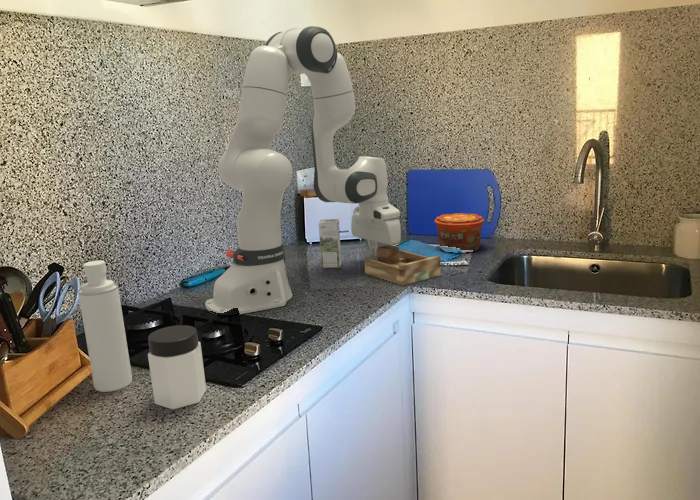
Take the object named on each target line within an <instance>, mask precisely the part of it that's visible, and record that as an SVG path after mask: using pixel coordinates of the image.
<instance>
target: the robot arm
mask: <svg viewBox="0 0 700 500" xmlns="http://www.w3.org/2000/svg"><path fill="white" fill-rule="evenodd" d="M337 49H338V48H337V47H336V42H335V40H334V38H333V36H332V34H331V33H330V32H329V31H328V30H327V29H325V28H323V27H321V26H315V25H314V26H312V25H310V26H307V27H293V28H292V27H291V28H289V29H286V30H283V31H279V32H275V33H274V34H273V35H271V36H270V37H269V38H268V40H267V41H266V42H265V44H264V45H260V46H258V47H255V48H254V49H252V51H251V53H250V55H249V57H248V61H247V64H246V66H245V71H244V76H243V81H242V87H241V94H240V98H239V99H240V101H239V106H238V113H237V114H238V115H237V119H236V123H235V127H234V130H233V133H232V135H231V137H230V139H229V143H228V146H227V148H226V150H225V152H224V153H223V154H222V155H221V157H220V158H219V160H218V164H217V172H218V175H219V178H220V179H221V180H222V182H224V183H225V184H226V185H227V186H229V187H231V188H232V189H235V190H237V191H241V192H242V200H241V207H240V210H239V212H238V213H237V215H236V219H235V221H236V232H237V240H238V247H237V249H236V250H235V251H234V250H232V249H227V250H226V251H225V255H226V257H227V258H229V259H233V263H232V264H231V265H230V266H229V267H228V268H227V269H226V270H225V271H224V272H223V273H222V275H220V276H219V277H217V279H216V280H215V282H214V285H213V293H212V295H213V298H210V299H207V300H206V301H205V304H204V305H205V309H206V310H207V311H208V312H210V311H213V312H216V313H224V312H227V311H229V310H231V309H233V308H238V310H239V313H240V314H239V315H243V314H249V313H254V312H259V311H264V310H270V309H277V308H280V307H284V306H286V304H287V302H288V301H289V300H291V299H292V298H293V296H294V295H293V293H292V289H291V287H290V283H289V280H288V275H287V272H286V266H285V264H286V253H285V244H284V243H283V241H282V240H283V237H282V227H281V226H282V224H281V222H282V221H281V210H282V205H283V204H282V202H283V197H284V193H285V191H286V189H287V188H288V187H289V185H290V184H291V181H292V179H293V166H292V164H291V161H290V160H289V158H287V157H286V156H285V155H284V154H282V153H280V152H278V151H277V150H274V149H271V146H272V144H273V142H274V139H275V138H276V136H277V134H278V133H279V132H280V131H281V129H282V127H283V124H284V117H285V110H286V103H287V97H288V88H289V84H288V83H289V80H290V78H291V76H292V75H293V74H295V75H296V74H297V75H305V76H306V77H307V79H308V80H309V83H310V88H311V95H312V100H313V107H314V108H313V109H314V111H313V113H314V114H313V117H312V120H311V132H310V133H311V144H312V155H313V156H312V157H313V165H314V169H313V170H314V171H313V173H314V175H313V191H314V193H315V195H316V196H317V198H318V199H319V200H320V201H321V202H324V203H341V204H351V205H353V204H355V205H356V204H358V206H355V208H354V209H353V211H352V213H353V214H352V216H351V223H350V224H351V225H350V227H351V231H350V232H351V234H352V236H353V237H356V238H358V239H359V238H360V239H363V240H366V241H367V245H368V247H369V252H370V255H371V256H372V255H373V256H376V257H378V247H382V246H384V245H386V246H387V245H392V246H396V245H398V244H400V242H401V240H402V230H401V221H400V219H399V218H400V217H401V212H400V210H399V209H398V208H396V207H395V206H394V205H392V204H391V203H390V202H389V196H388V192H387V189H388V185H389V184H388V182H389V181H388V172H387V171H388V170H387V165H386V162H385V158H383V157H382V156H379V155H371V154H361V155H359V156H358V159H357V161H356V162H355V163H354V164H353V165H351V166H350V167H348V168H346V169H345V168H343V169H342V168H338V166H337V165H336V162H335V161H336V160H335V153H334V152H335V151H334V137H335V134H336V132H337V131H338V130H339V129H341V128H342V127H344V126H345V125H347V124H349V122H350V121H351V120H352V118H353V116H354V114H355V112H356V99H355V94H354V93H355V92H354V88H353V83H352V79H351V75H350V73H349V72H350V71H349V69H348V65H347V64H346V60H345V58H344V56H343V55H342V54H341V53H340V52H338V50H337Z"/></svg>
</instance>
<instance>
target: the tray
mask: <svg viewBox="0 0 700 500" xmlns="http://www.w3.org/2000/svg"><path fill="white" fill-rule="evenodd" d="M399 257H400V262H398V263H394V264H390V265H389V264H386V263H383V262H379V261H378V260H375V259H371V258H369V257H366V258H364V259H363V260H364V261H363V262H364V273H365V274H366V275H369V276H371V277H375V278H376V279H377V278H378V279H381V280H383V279H384V281H386V280H387V281H386V282H389V281H390V283H392V282H393V284H395V283H396V285H398V286H406V285H410V284H411V285H412V284H415V283H417V282H422V281H425V280H429V279H433V278H435V277H436V278H437V277H439V276H441V275H442V274H441V270H442V269H441V268H442V267H441V256H440V255H435V256H427V255H424V254H423V255H422V254H419V253H415V252H410V251H408V250H407V251H406V250H403V249H401V250H400V249H399Z"/></svg>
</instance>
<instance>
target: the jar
mask: <svg viewBox="0 0 700 500" xmlns="http://www.w3.org/2000/svg"><path fill="white" fill-rule="evenodd" d="M198 335H199V334H198V330H197V328H195V327H194V326H191V325H184V324H183V325H182V324H180V325H179V324H178V325H170V326H165V327H163V328H159V329H156V330H154V331H153V332H151V333H150V334H149V335H148V337H147V341H148V347H149V349H148V350H149V352H148V353H147V359H148V360H147V361H148V364H149V366H148V367H149V372H150V378H151V379H150V380H151V385H152V388H151V389H152V394H153V401H154V404H155V405H158V406H161V407H162V408H163V407H164V408H167V409H170V410H172V411H175V410H177V409H180V408H184V407H188V406H191V405H195V404H199V403H200V402H201V400H202V398H203V397H204V395H205V393H206V392H207V386H206V377H205V375H206V374H205V369H204V361H203V351H202V345H201V343H202V342H201V341H199V337H198Z"/></svg>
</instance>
